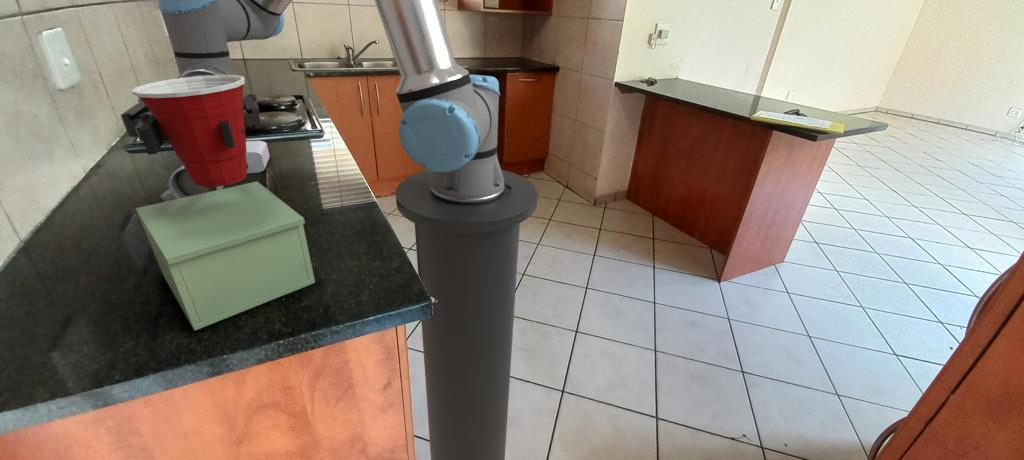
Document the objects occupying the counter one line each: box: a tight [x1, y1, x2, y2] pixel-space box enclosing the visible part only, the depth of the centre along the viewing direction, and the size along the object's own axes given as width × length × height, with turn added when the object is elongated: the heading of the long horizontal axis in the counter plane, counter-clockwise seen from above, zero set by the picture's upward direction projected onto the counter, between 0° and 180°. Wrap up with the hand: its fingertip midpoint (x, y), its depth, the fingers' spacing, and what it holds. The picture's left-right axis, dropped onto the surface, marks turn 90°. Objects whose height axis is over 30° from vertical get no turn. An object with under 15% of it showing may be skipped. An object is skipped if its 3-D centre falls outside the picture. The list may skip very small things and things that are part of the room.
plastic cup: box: [130, 74, 248, 187], centre depth 51 cm, size 11×11×12 cm
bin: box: [137, 214, 316, 331], centre depth 58 cm, size 16×15×10 cm
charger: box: [246, 140, 270, 174], centre depth 99 cm, size 5×9×15 cm
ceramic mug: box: [159, 164, 225, 202], centre depth 80 cm, size 11×8×8 cm
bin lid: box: [135, 181, 306, 265], centre depth 55 cm, size 16×15×1 cm
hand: (188, 138), depth 46 cm, fingers closed on plastic cup, 6 cm apart
